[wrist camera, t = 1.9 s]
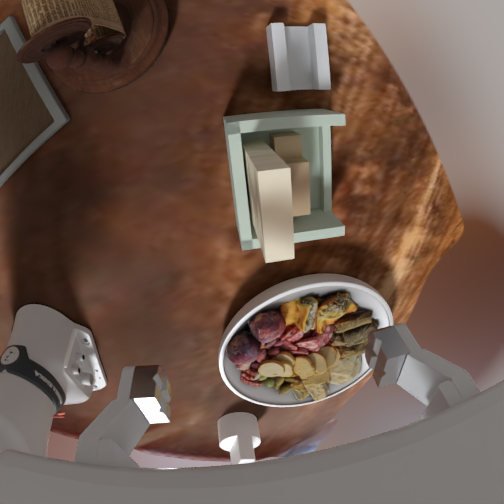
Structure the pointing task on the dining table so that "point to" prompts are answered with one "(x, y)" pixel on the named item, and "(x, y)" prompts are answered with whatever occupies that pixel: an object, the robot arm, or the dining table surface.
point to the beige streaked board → (269, 199)
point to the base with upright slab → (239, 436)
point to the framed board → (23, 104)
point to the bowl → (302, 340)
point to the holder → (298, 57)
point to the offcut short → (299, 185)
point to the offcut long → (286, 144)
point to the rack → (313, 150)
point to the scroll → (95, 40)
